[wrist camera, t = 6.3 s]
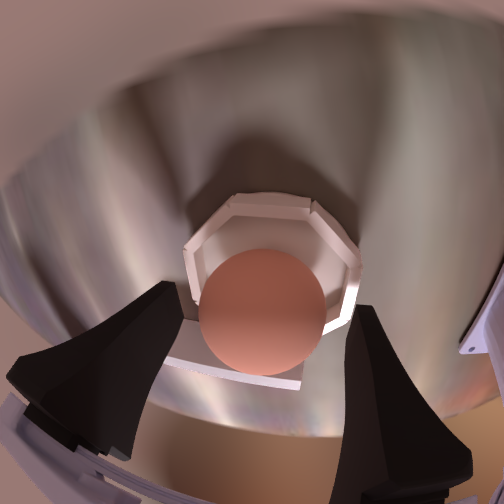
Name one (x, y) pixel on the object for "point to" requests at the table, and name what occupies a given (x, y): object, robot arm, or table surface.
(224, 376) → the wall
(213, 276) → the ball
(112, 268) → the table surface
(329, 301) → the coaster
